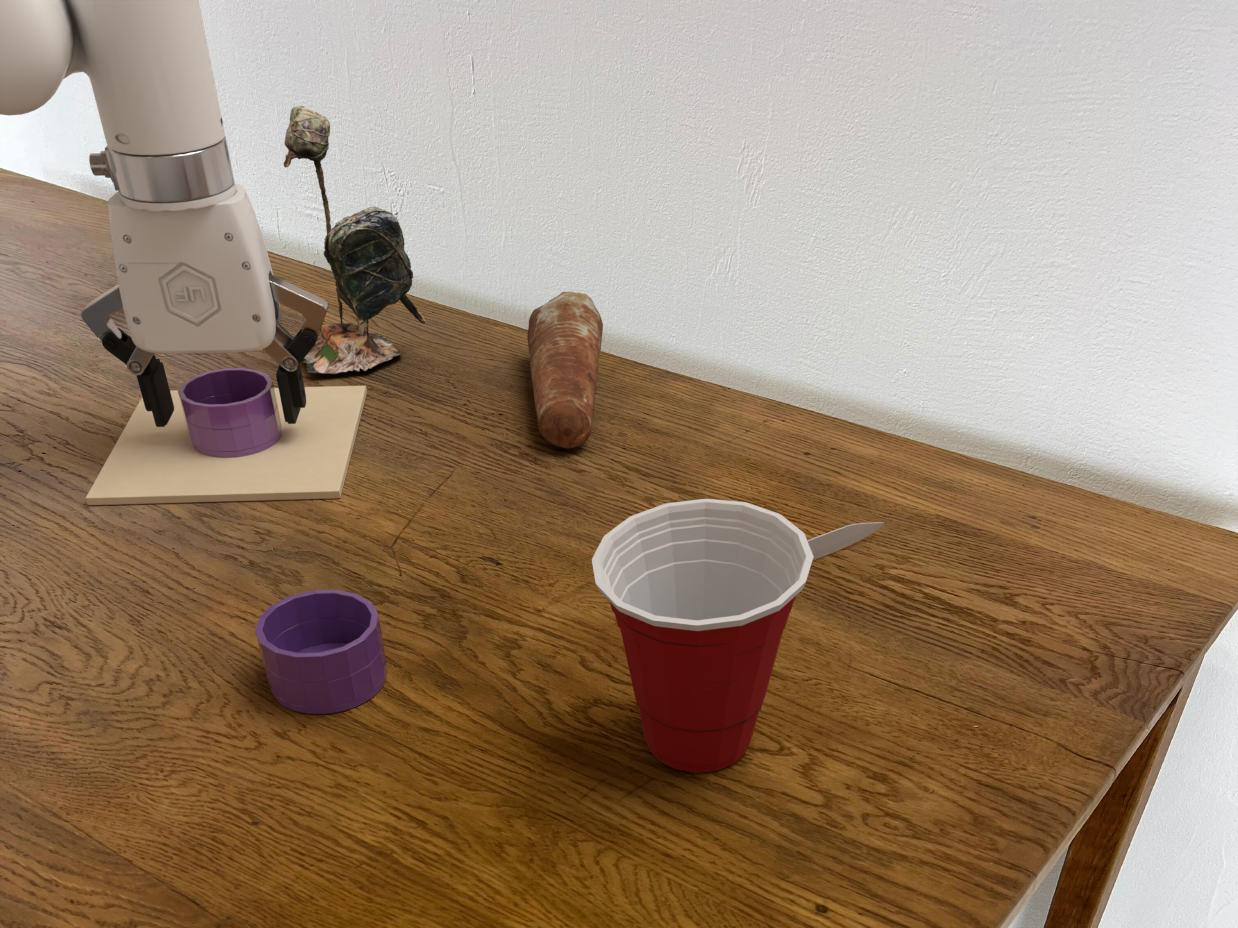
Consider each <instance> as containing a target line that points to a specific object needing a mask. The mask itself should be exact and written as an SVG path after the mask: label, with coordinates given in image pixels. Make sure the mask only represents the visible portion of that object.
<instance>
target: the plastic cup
mask: <svg viewBox="0 0 1238 928" xmlns="http://www.w3.org/2000/svg"><path fill="white" fill-rule="evenodd" d="M807 540H808V539H807V536H806V534H805V532H804V531H802V530H801V529H799V527H797V526H796V525H795V524H793V523H792V522H791V521H790V520H788V519H787V518H786V517H784V516H783V515H782V514H781V513H778V512H775V511H773V510H770V509H767V508H764V507H761V506H757V505H756V504H752V503H748V502H746V501H736V500H724V499H714V498H700V499H693V500H692V499H691V500H683V501H675V502H668V503H667V502H666V503H663V504H661V505H658V506H655V507H652V508H650V509H647V510H644V511H641V512H639V513H636V514H633V515H630V516H628V517H627V518H626V519H624V520H623V521H622V522H620V523H619V524H618V525H617V526H615V527H613V528H612V529H611V530H609V532H607V533H605V535H603V537H602V539H601V541H600V542H599V545H598V546H597V548H596V550H595V552H594V554H593V556H592V558H591V563H592V569H593V570H592V571H593V575H594V581H595V582H594V583H595V585H596V588H597V589H598V591H599V592H600V593H601V594H602V595H603V597H604V598H605V599H606V600H607V601H608V602H609V605H610V608H611V611H612V612H613V613H614V617H615V621H616V625H617V627H618V628H619V630H620V634H621V638H622V644H623V649H624V652H625V657H626V661H627V666H628V671H629V675H630V679H631V680H630V681H631V685H632V689H633V694H634V698H635V699H634V700H635V703H636V705H637V706H638V710H639V715H640V721H641V725H642V731H643V736H644V742H645V743H646V744H647V748H648V751H649V752H650V753H651V755H653V757H655V759H656V760H657V761H658V762H660V763H662V764H664V765H665V766H668V767H670V768H671V769H673V770H677V771H683V772H689V773H693V774H694V773H695V774H698V773H710V772H717V771H720V770H724V769H726V768H728V767H731V766H733V765H735V764H736V763H737V762H738V761H740V759H741V758H742V757H744V756H745V755H746V751H747V748H748V747H750V744H751V741H752V738H753V735H754V732H755V729H756V724H757V721H758V717H759V715H760V714H759V713H760V711H761V710H762V707H763V704H764V701H765V698H766V695H767V693H768V688H769V685H770V681H771V677H772V673H773V670H774V667H775V662H776V659H777V656H778V652H779V649H780V645H781V640H782V638H783V634H784V630H785V629H786V626H787V623H788V620H789V617H790V614H791V612H792V609H793V606H794V602H795V601H796V598H797V596H798V595H799V594H800V593H801V592H802V591H803V590H804V588H805V586H806V583H807V580H808V577H809V574H810V569H811V566H812V564H813V561H814V560H813V557H814V556H813V554H812V551H811V549H810V546H809V544H808V541H807ZM812 560H813V561H812Z"/></svg>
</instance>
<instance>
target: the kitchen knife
mask: <svg viewBox="0 0 1238 928" xmlns="http://www.w3.org/2000/svg"><path fill="white" fill-rule="evenodd" d="M885 524H886V522H883V521H879V522H877V521H874V522H862V523H861V522H860V523H853V524H848V525H844V526H842V527H840V528H837V529H834V530H831V531H829V532H825V533H824V534H821V535H818V536H816V537H812V538H810V539H807V541H808V544H809V546H810V549H811V551H812V554H813V556H814V557H813V560H812V562H813V561H815V560H818V559H820V558H824V557H826V556H829V555H831V554H834V553H836V552H839V551H841V550H843V549H845V548H847V547H849V546H852V545H854V544H857V543H858V542H860V541H862V540H863V539H866V538H867V537H869V536H870V535H872V534H873V533H875V532H877V531H878V530H879V529H881V527H883V526H884V525H885Z"/></svg>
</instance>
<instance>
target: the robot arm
mask: <svg viewBox="0 0 1238 928" xmlns="http://www.w3.org/2000/svg"><path fill="white" fill-rule="evenodd" d="M206 36H207V35H206V31H205V27H204V20H203V16H202V10H201V7H200V1H199V0H0V115H3V116H21V115H25V114H29V113H31V112H35V111H36V110H38V109H40V108H42V107H44V105H46V104H47V103H48V102H49V101H50V100H51V99H52V98H53V97H54V95H56V93H57V91H58V89H59V88H60V86H61V84H62V83H63V80H64V79H66V78H68V77H69V76H71V75H73V74H77V73H84V74H86V76H88V78H89V82H90V85H91V88H92V93H93V96H94V100H95V104H96V109H97V111H98V115H99V119H100V123H101V127H102V131H103V135H104V138H105V142H106V143H105V144H106V146H105V147H104V150H101V151H100V152H93V153H92V152H90V154H89V157H88V162H89V167H90V171H91V173H92V174H93V176H95V177H97V176H98V177H99V176H104V178H107V179H110V180H111V182H112V183H113V187H114V190H115V193H114V194H112V196H111V197H110V198H109V199H108V201H107V202H108V205H107V206H108V221H109V230H110V240H111V245H112V253H113V261H114V266H115V267H114V268H115V272H116V277H117V284H116V285H114V286H113V287H111V288H110V289H108V290H106V291H104V292H103V293H102V294H100V295H98V296H97V297H96V298H94V299H92V300H91V301H89V302H88V303H87V304H85V306H84V307H83V309H82V310H81V311H80V317H81V319H82V321H83V322H84V323H85V324H86V326H87V327H88V328H89V329H90V331H91V332H92V333H93V334H94V335H95V336H96V338H98V339H99V340H100V341H101V344H102V347H103V349H105V350H106V351H107V352H108V353H110V354H111V355H112V356H114V357H115V358H117V359H118V360H119V361H120V362H122V363H123V364H124V365H126V368H127V370H128V371H129V373H130V374H132V375H135V376H136V379H137V383H138V386H139V390H140V394H141V398H143V402H144V405H145V408H146V410H147V411H152V413H153V417H154V421H155V424H156V426H157V427H165V425H167V424H168V422H169V420H170V418H171V416H172V414H173V412H174V404H173V400H172V396H171V393H170V391H171V389H170V385H169V382H168V377H167V374H166V370H165V366H164V363H163V362H162V361H161V359H160V358H157V357H156V355H155V354H158V355H185V354H186V355H194V354H195V355H196V354H231V353H232V354H233V353H234V354H236V353H253V352H259V351H261V350H263V351H264V352H265V353H266V354H267V355H268V356H269V357H270V358H272V359H273V360H274V361H275V362H276V363H277V364H278V368H277V370H276V374H275V377H276V378H275V379H276V383H277V388H279V393H280V398H281V403H282V409H283V414H284V419H285V422H288V424H296V421H297V418H298V415H299V412H300V409H301V408H305V406H306V393H305V388H304V387H305V382H304V378H303V372H302V366H301V363H302V362H303V361H304V360H305V359H304V358H305V356H306V355H307V354H308V353H309V352H310V350H311V349H312V348H313V347H314V345H315V344H316V342H318V338H319V336H320V334H321V332H320V330H321V327H322V325H324V321H325V318H326V316H327V313H328V309H329V303H328V301H327V300H326V299H324V298H322V297H321V296H319V295H316V294H314V293H313V292H311V291H308V290H306V289H303V288H301V287H299V286H298V285H295V284H293V283H291V282H288V281H286V280H284V279H282V278H280V277H278V276H276V275H274V272H273V268H272V265H271V260H270V255H269V253H268V250H267V246H266V243H265V239H264V235H263V233H262V230H261V227H260V224H259V221H258V217H257V216H256V213H255V210H254V207H253V204H252V202H251V199H250V197H249V195H248V192H247V189H246V188H245V186H244V185H242V184H240V183H236V182H235V177H234V171H233V167H232V161H231V156H230V151H229V146H228V141H227V136H226V133H225V127H224V120H223V117H222V113H221V108H220V107H221V106H220V101H219V96H218V92H217V87H216V82H215V76H214V72H213V66H212V61H211V56H210V51H209V45H208V41H207V40H208V39H207V37H206ZM281 305H282V306H284V307H286V308H288V309H290V310H293V311H295V312H297V313H299V314H301V316H303V320H304V322H303V324H302V327H301V328H300V329H299V331H298V332H297V333H296V335H295V336H293V335H292V334H291V333H290V332H289V331H288V330H287V329H286V328H285V327H284V326H283V325H281V320H282V309H281ZM121 309H123V314H124V319H125V322H126V326H127V329H128V332H129V334H128V333H126V332H125V331H124V330H122V329H121V328H119V327H117V326H116V324H115V322H114V321H113V319H112V317H111V316H112V315H113V314H115V313H116V312H118V311H120V310H121Z"/></svg>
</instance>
